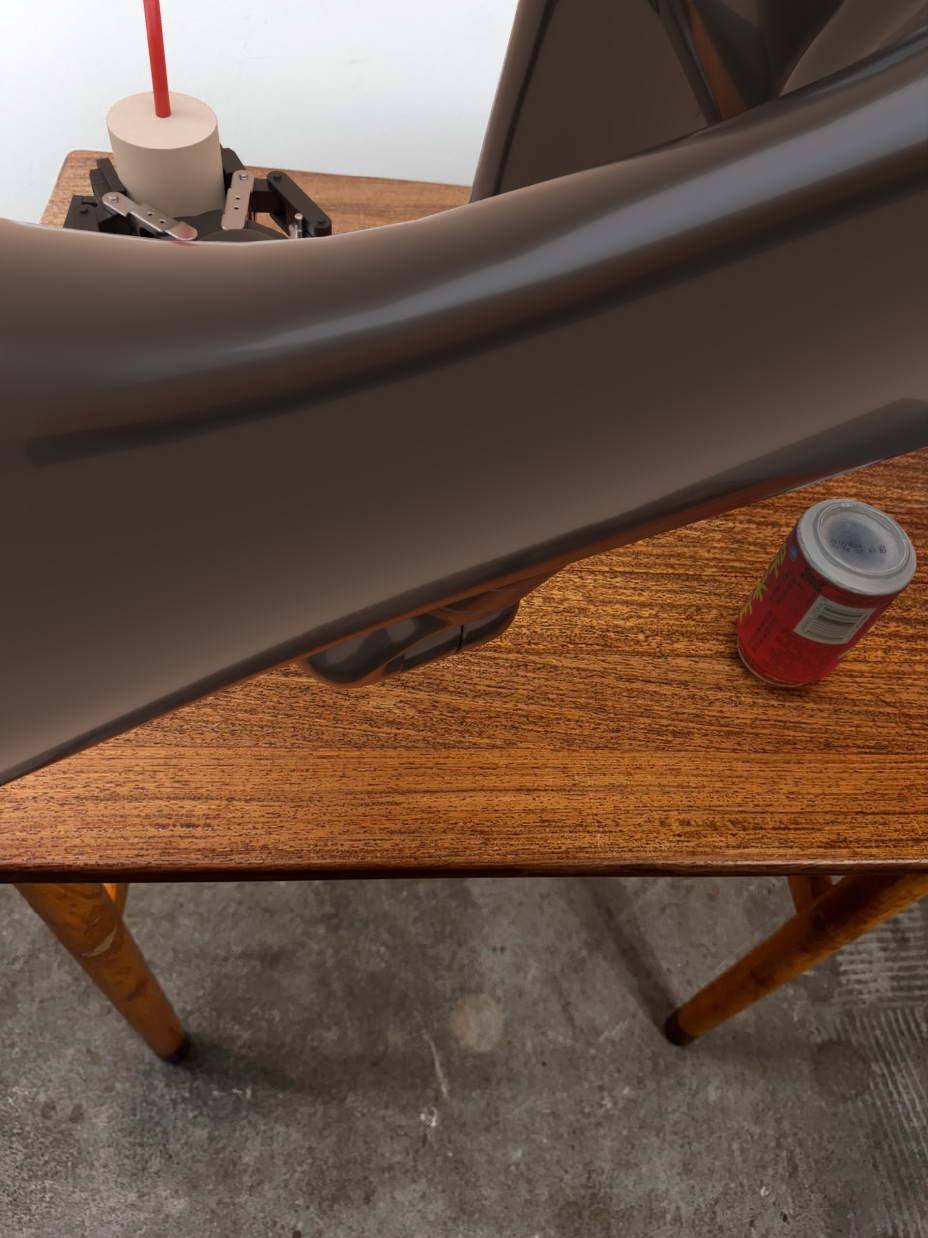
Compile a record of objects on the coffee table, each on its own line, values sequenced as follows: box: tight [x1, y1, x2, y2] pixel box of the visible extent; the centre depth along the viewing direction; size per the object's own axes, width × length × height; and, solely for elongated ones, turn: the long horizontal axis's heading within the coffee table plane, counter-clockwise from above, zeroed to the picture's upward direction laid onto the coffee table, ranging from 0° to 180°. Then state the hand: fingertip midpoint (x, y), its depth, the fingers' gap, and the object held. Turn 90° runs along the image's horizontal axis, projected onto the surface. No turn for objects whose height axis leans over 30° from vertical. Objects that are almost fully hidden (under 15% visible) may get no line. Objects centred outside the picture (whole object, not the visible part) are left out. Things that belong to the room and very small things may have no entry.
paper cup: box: [105, 0, 226, 218], centre depth 52 cm, size 6×6×16 cm
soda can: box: [736, 498, 917, 688], centre depth 57 cm, size 7×7×12 cm
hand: (159, 164), depth 54 cm, fingers closed on paper cup, 6 cm apart
